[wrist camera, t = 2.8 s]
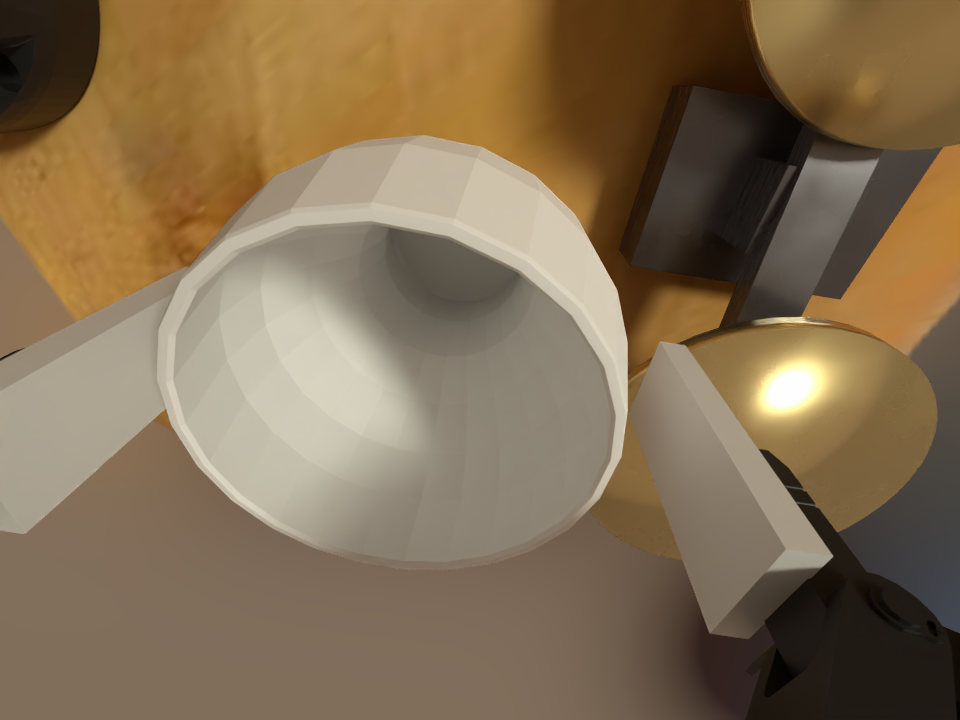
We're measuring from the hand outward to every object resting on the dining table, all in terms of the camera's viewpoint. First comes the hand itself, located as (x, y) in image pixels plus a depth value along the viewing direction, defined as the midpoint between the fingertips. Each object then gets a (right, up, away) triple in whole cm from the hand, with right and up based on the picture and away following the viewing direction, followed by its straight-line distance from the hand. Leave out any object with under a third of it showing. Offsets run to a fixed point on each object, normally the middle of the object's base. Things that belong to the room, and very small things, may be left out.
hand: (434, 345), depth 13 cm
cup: (0, +6, +9) cm, 11 cm away
